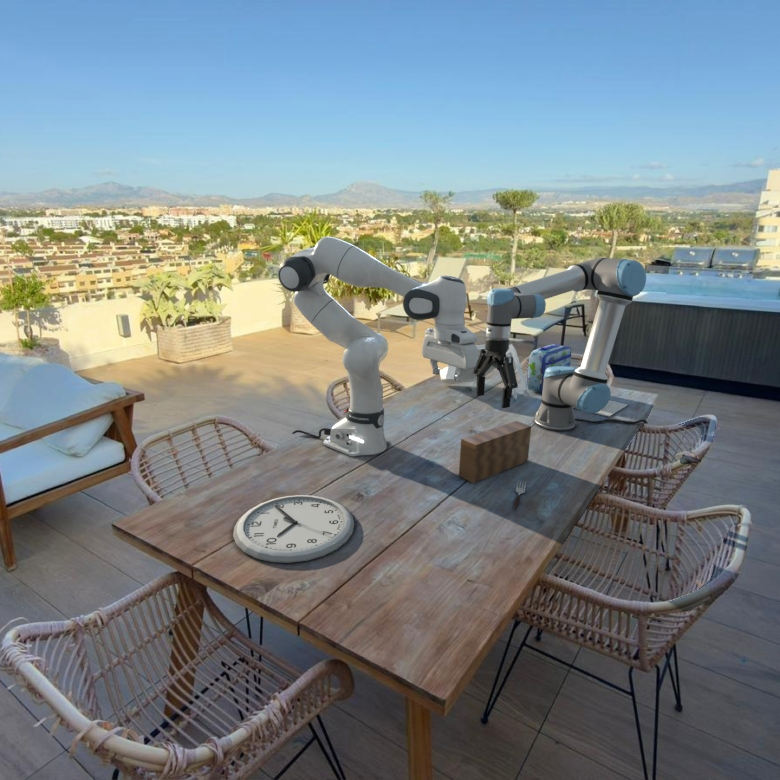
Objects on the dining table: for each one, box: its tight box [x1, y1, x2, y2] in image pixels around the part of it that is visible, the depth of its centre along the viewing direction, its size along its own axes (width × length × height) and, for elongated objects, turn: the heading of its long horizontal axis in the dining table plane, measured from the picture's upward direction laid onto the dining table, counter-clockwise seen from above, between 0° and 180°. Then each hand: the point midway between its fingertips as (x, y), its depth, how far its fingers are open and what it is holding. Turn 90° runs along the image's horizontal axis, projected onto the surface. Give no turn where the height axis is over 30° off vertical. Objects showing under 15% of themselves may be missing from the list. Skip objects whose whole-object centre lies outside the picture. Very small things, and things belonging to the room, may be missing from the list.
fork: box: [514, 479, 527, 511], centre depth 147 cm, size 3×16×2 cm, turn 160°
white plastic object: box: [439, 343, 531, 400], centre depth 245 cm, size 37×45×31 cm
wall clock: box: [232, 494, 355, 564], centre depth 132 cm, size 30×2×30 cm
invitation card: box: [595, 399, 629, 418], centre depth 226 cm, size 21×1×15 cm
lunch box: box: [526, 343, 572, 394], centre depth 247 cm, size 26×11×21 cm, turn 134°
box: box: [458, 420, 532, 484], centre depth 165 cm, size 26×6×12 cm, turn 128°
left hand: (446, 377), depth 158 cm, fingers open, 8 cm apart
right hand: (492, 401), depth 173 cm, fingers open, 13 cm apart
